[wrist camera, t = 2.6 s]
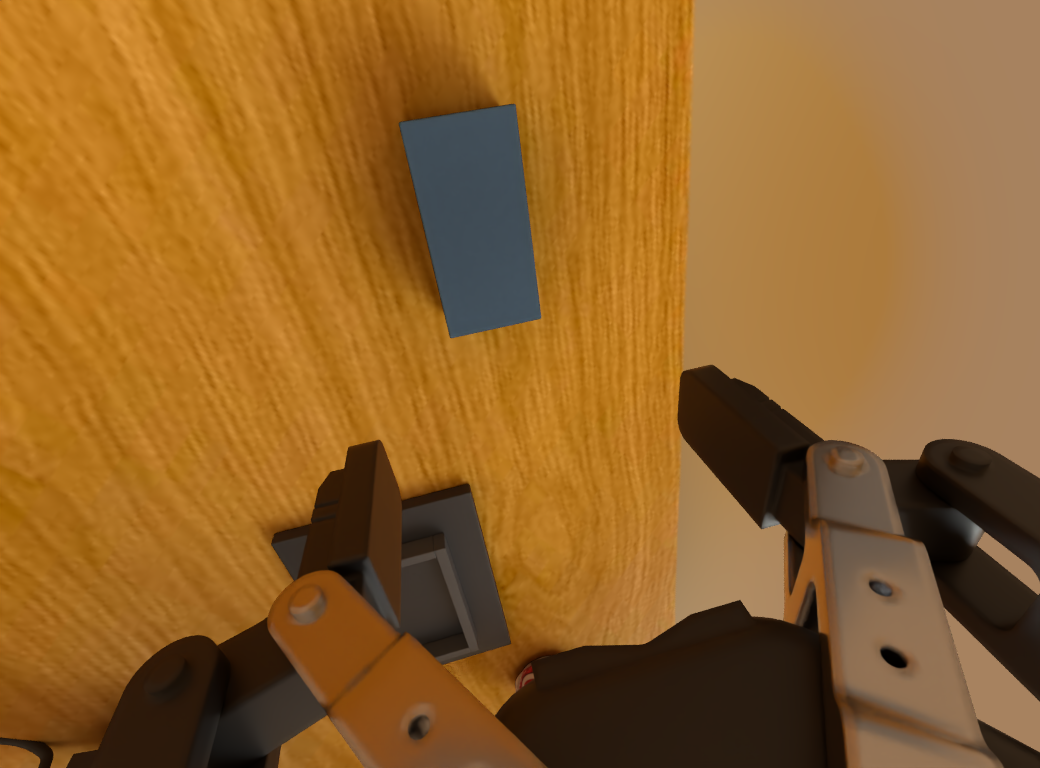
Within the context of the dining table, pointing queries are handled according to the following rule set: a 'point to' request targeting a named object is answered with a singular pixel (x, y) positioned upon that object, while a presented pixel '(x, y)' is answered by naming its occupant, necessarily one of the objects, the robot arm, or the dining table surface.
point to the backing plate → (436, 575)
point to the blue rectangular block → (475, 216)
